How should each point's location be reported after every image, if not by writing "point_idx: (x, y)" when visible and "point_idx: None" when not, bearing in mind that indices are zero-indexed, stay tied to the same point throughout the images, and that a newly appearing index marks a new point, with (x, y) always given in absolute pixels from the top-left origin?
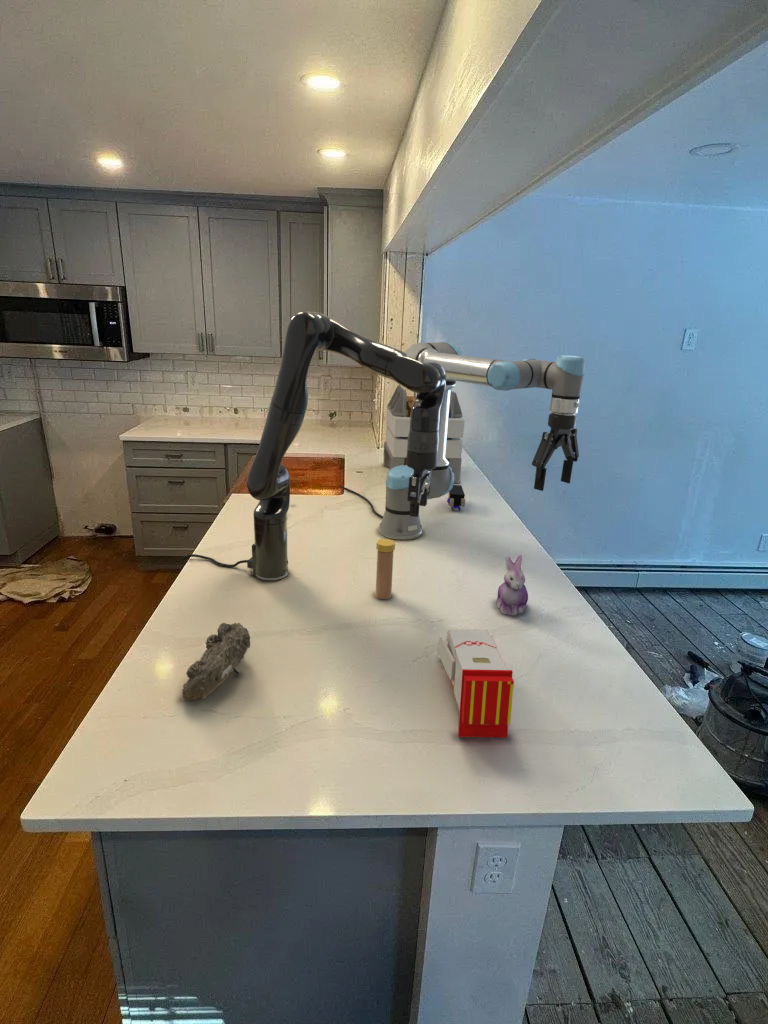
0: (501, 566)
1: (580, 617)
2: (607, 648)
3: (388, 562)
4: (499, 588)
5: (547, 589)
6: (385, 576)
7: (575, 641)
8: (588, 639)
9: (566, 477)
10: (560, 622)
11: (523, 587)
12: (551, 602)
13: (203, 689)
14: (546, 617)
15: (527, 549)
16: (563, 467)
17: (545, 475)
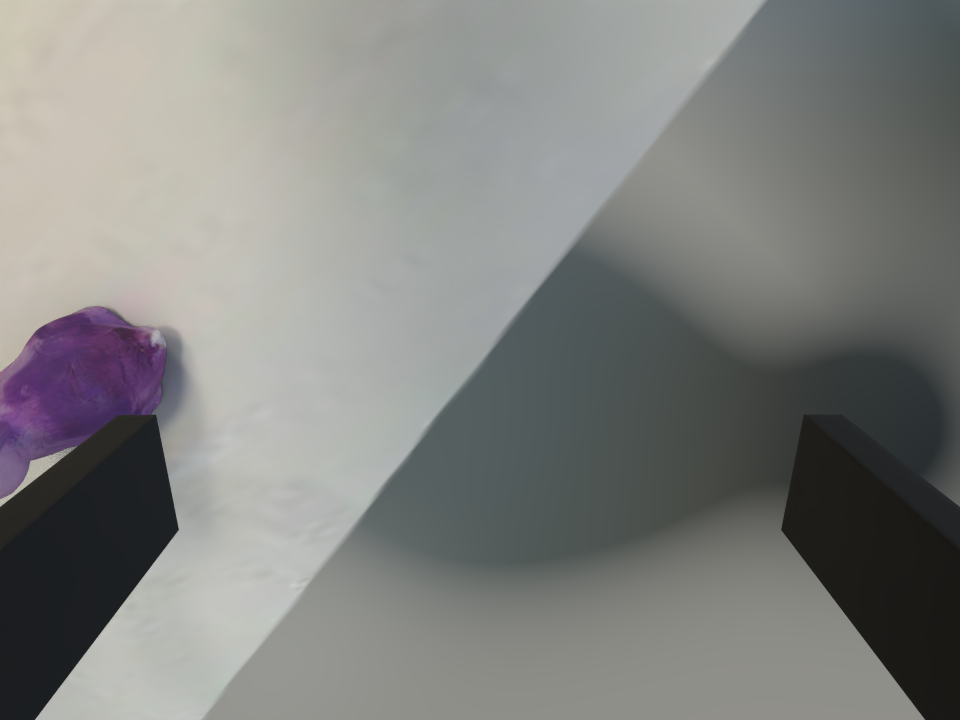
0: (372, 74)
1: (291, 547)
2: (210, 669)
3: None
4: (27, 342)
5: (366, 365)
6: None
7: (152, 606)
8: (199, 621)
9: (828, 537)
10: (200, 527)
11: (80, 439)
12: (288, 435)
13: None
14: (181, 484)
15: (696, 8)
16: (955, 569)
17: (36, 714)
